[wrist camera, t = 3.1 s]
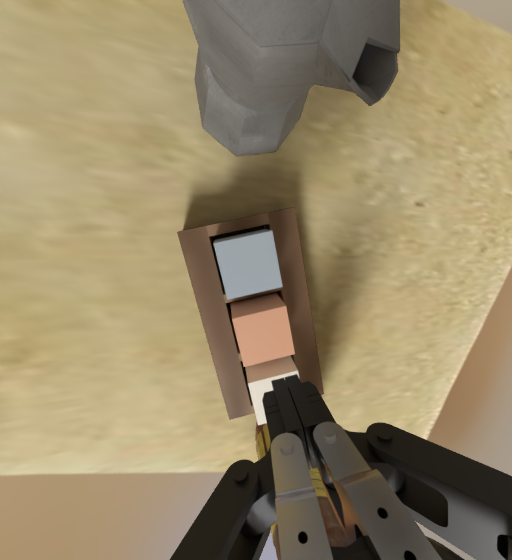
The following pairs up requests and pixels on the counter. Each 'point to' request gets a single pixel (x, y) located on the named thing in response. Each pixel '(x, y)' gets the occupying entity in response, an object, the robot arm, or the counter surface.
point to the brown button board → (215, 299)
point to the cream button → (267, 381)
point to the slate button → (248, 263)
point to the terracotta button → (262, 329)
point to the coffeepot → (286, 61)
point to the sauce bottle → (328, 515)
